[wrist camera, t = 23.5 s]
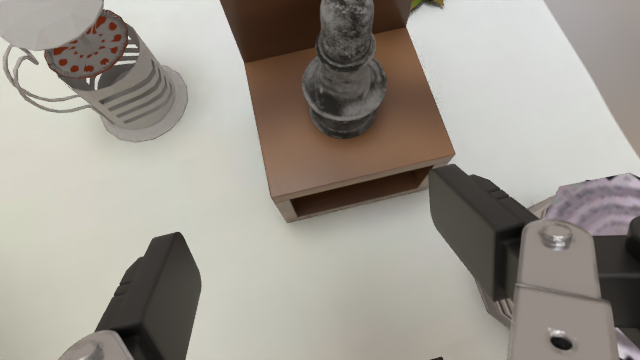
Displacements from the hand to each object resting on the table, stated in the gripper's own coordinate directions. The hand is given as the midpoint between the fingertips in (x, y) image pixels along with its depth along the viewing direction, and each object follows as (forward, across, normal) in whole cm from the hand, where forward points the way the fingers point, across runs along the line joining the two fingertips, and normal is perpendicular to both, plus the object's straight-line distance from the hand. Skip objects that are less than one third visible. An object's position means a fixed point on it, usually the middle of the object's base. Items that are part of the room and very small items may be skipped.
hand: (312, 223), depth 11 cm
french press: (+32, -16, -1) cm, 36 cm away
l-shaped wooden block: (+24, +4, -8) cm, 26 cm away
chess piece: (+18, +4, -2) cm, 18 cm away
